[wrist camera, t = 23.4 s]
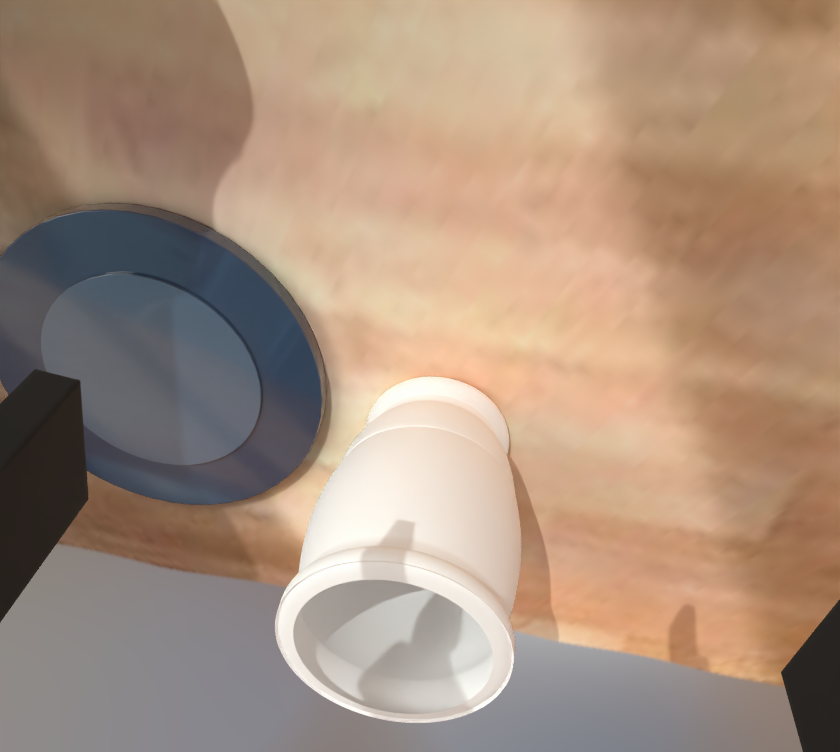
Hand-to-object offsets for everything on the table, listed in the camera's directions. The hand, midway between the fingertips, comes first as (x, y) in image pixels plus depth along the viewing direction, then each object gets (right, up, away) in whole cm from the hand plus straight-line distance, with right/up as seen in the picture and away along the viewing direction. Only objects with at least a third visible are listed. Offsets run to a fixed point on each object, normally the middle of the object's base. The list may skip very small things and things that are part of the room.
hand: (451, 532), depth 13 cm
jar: (+1, -1, +32) cm, 32 cm away
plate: (-16, +3, +32) cm, 36 cm away
